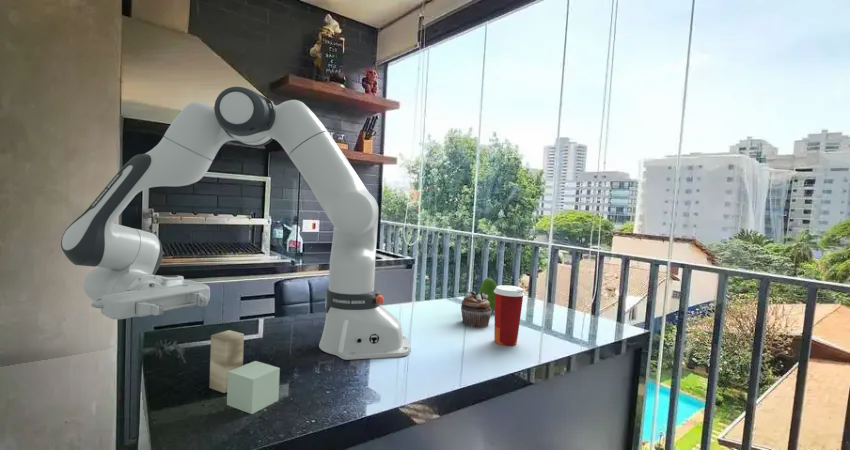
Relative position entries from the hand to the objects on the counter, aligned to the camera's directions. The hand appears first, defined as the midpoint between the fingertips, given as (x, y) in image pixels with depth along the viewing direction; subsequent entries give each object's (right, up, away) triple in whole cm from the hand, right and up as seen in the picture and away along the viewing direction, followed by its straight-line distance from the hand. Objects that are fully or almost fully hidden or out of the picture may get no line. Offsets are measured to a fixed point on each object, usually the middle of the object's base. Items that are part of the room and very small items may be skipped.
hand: (183, 306), depth 87 cm
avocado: (+70, -14, +63) cm, 95 cm away
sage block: (+18, -15, -10) cm, 25 cm away
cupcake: (+64, -15, +48) cm, 81 cm away
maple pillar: (+10, -14, -5) cm, 18 cm away
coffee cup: (+70, -16, +32) cm, 79 cm away
